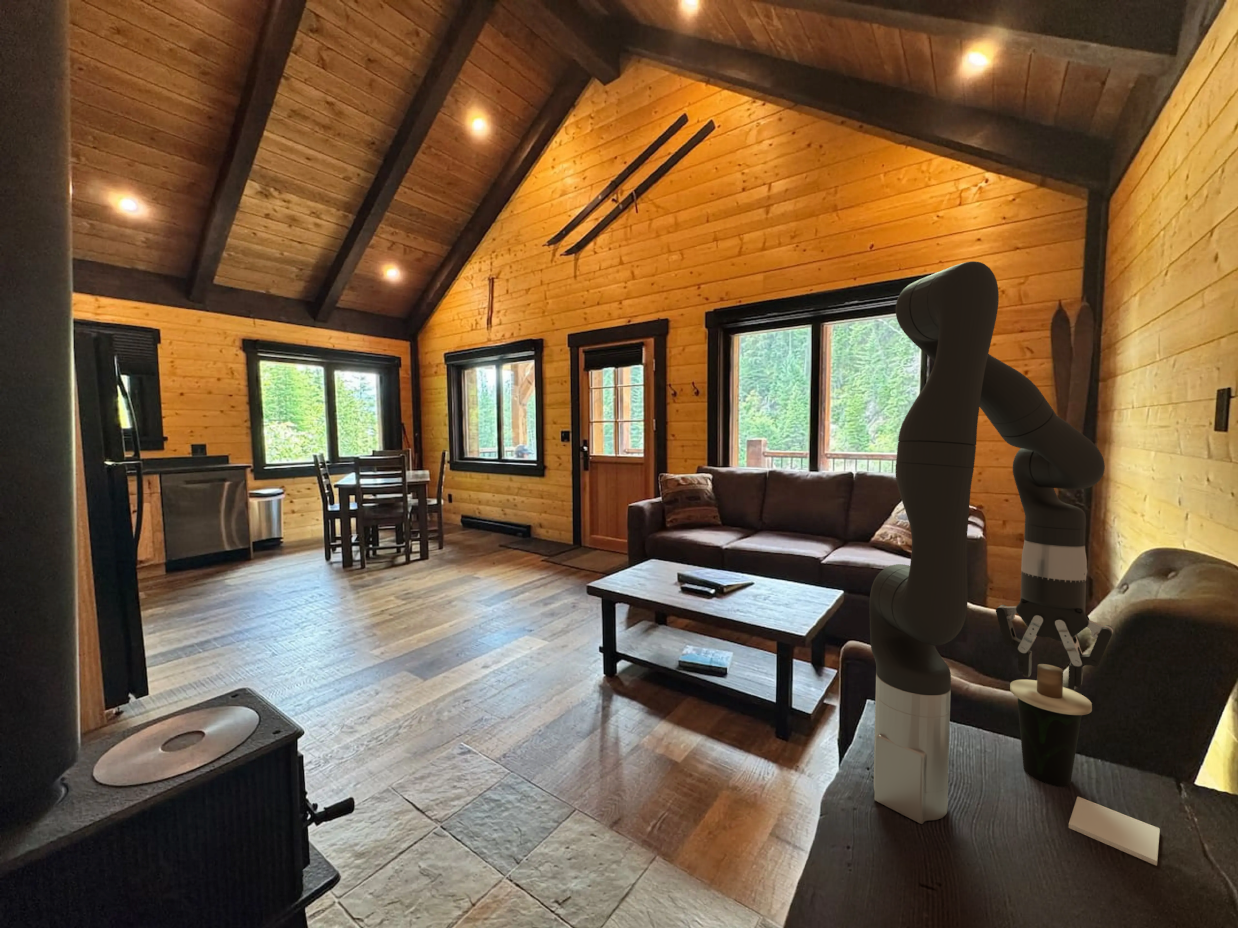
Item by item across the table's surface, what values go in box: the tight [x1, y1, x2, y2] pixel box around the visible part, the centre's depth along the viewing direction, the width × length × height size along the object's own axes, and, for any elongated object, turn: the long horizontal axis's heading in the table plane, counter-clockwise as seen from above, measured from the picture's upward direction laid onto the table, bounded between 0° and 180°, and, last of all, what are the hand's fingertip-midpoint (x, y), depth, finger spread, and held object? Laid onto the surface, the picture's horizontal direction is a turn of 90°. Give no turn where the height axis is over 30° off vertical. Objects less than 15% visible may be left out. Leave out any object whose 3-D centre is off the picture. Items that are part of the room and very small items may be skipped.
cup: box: [1017, 698, 1083, 788], centre depth 77 cm, size 8×8×12 cm
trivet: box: [1068, 796, 1161, 867], centre depth 66 cm, size 8×8×1 cm
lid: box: [1009, 663, 1093, 716], centre depth 77 cm, size 10×10×5 cm
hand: (1049, 680), depth 77 cm, fingers open, 4 cm apart
